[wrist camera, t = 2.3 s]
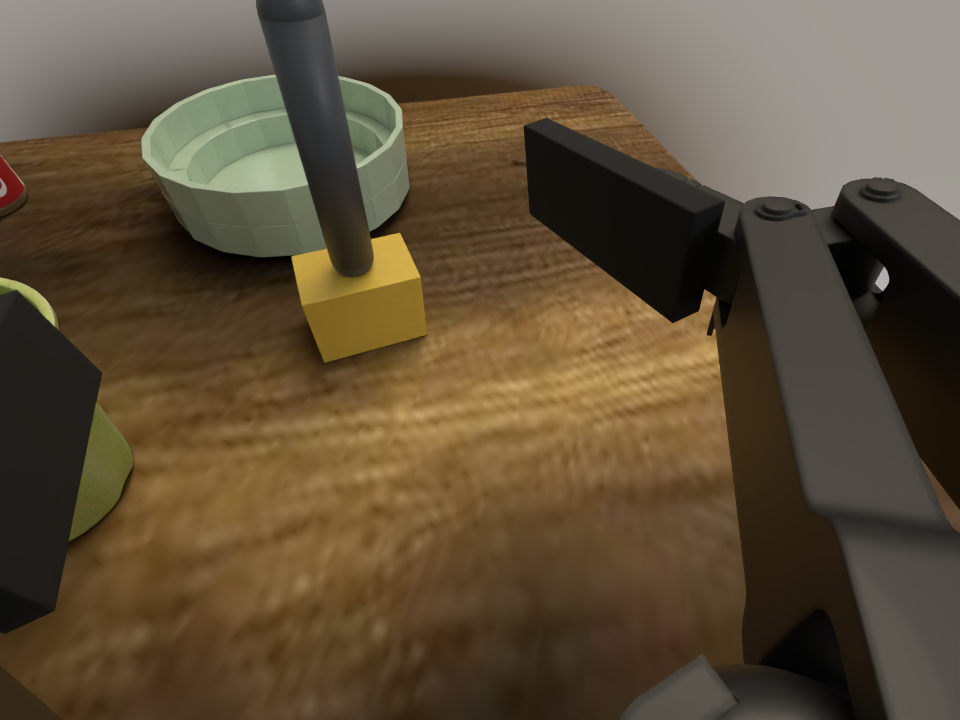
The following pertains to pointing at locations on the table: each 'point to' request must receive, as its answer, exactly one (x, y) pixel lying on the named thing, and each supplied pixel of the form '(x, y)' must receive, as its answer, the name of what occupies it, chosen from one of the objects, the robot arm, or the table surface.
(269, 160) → the bowl
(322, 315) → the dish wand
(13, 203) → the soda can
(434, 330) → the table surface
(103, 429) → the plant pot
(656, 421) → the table surface
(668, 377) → the table surface
